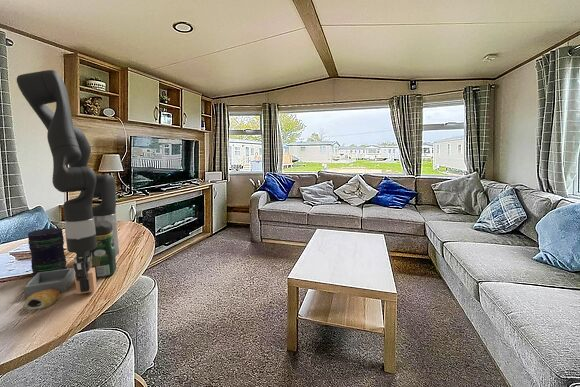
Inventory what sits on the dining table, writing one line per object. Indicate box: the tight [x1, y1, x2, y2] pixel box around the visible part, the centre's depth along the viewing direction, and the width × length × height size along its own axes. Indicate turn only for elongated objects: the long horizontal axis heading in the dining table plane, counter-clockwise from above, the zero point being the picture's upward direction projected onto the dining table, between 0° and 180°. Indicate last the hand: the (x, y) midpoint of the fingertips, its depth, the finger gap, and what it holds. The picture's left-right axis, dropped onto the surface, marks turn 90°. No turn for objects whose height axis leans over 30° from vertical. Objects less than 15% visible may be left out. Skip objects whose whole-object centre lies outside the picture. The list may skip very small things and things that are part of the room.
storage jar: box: [27, 227, 68, 277], centre depth 112 cm, size 10×10×15 cm
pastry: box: [22, 289, 61, 311], centre depth 91 cm, size 9×7×4 cm
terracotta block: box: [74, 267, 97, 295], centre depth 96 cm, size 4×4×6 cm
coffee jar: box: [92, 221, 117, 279], centre depth 110 cm, size 10×8×19 cm
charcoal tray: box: [23, 267, 75, 298], centre depth 101 cm, size 12×10×3 cm
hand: (86, 287), depth 97 cm, fingers closed on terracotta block, 4 cm apart
